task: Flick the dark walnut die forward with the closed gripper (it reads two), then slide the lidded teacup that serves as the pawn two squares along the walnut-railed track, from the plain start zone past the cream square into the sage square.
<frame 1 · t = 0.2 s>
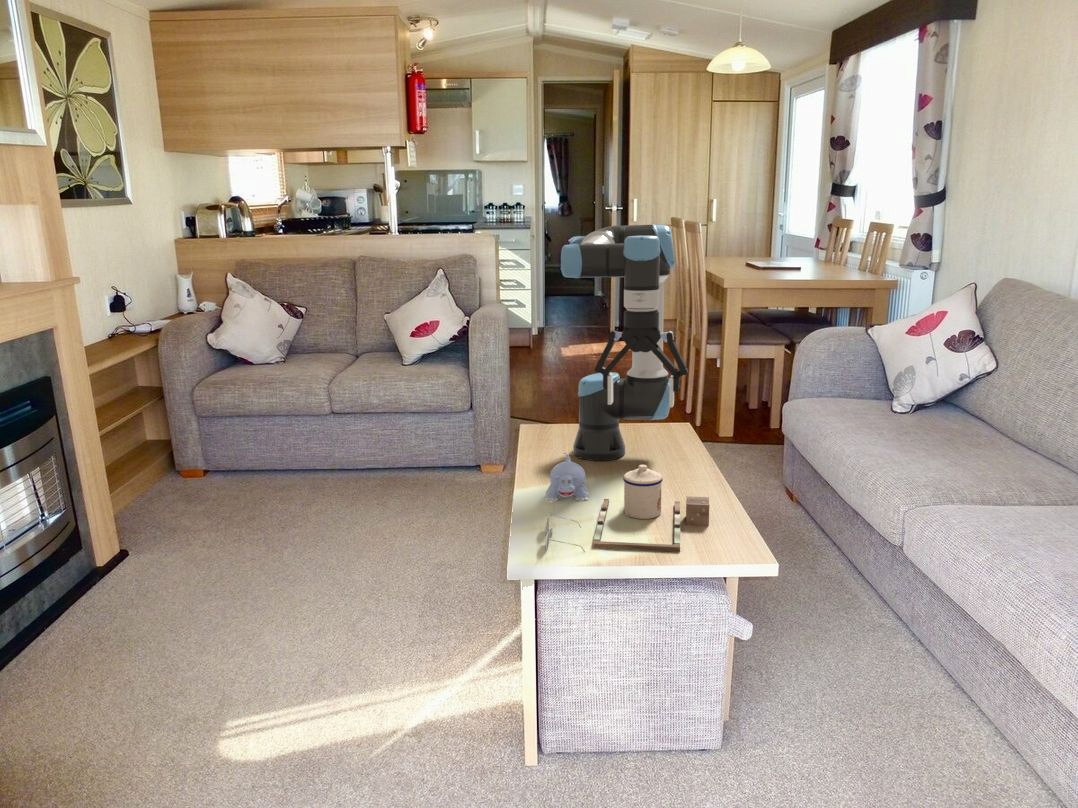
hand: (640, 404, 176), 27 cm above the table, fingers open, 13 cm apart
teacup with lid: (640, 511, 188), on the table
track: (639, 524, 180), on the table
hippopotamus toy: (567, 499, 198), on the table
sunglasses: (564, 542, 173), on the table
die: (697, 521, 181), on the table
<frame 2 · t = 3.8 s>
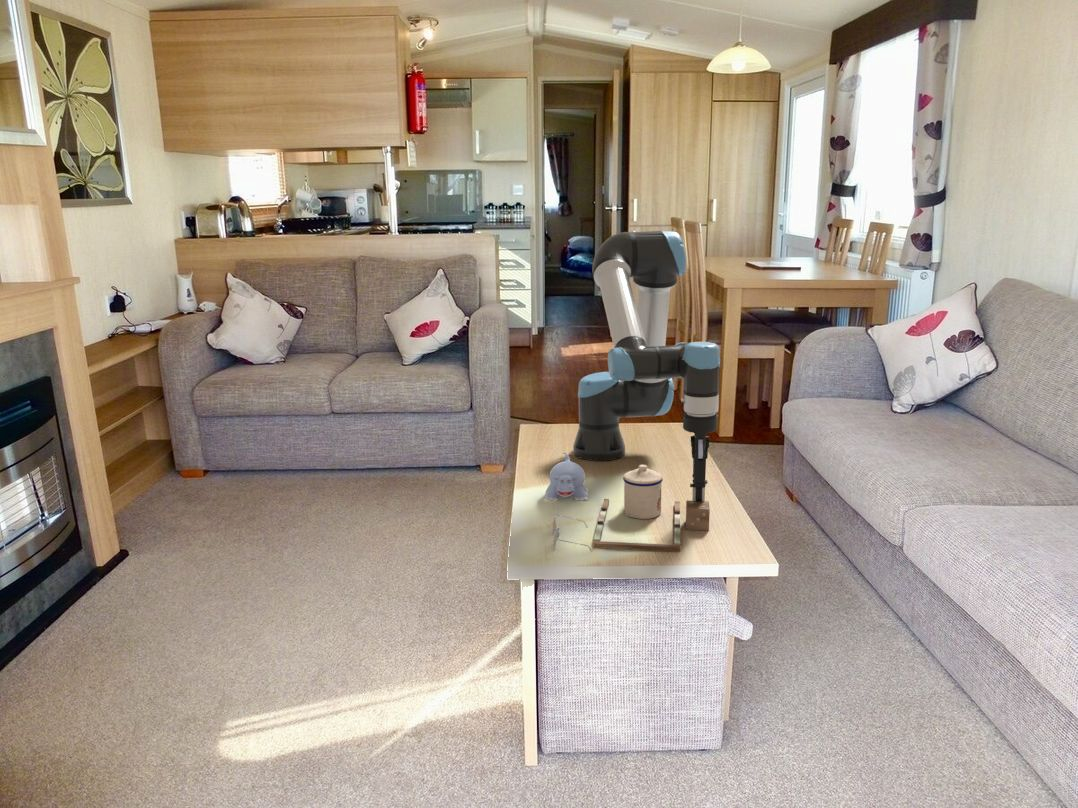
hand: (698, 512, 181), 2 cm above the table, fingers closed
sunglasses: (571, 542, 173), on the table
die: (697, 525, 179), on the table, touching gripper
everything else where it was.
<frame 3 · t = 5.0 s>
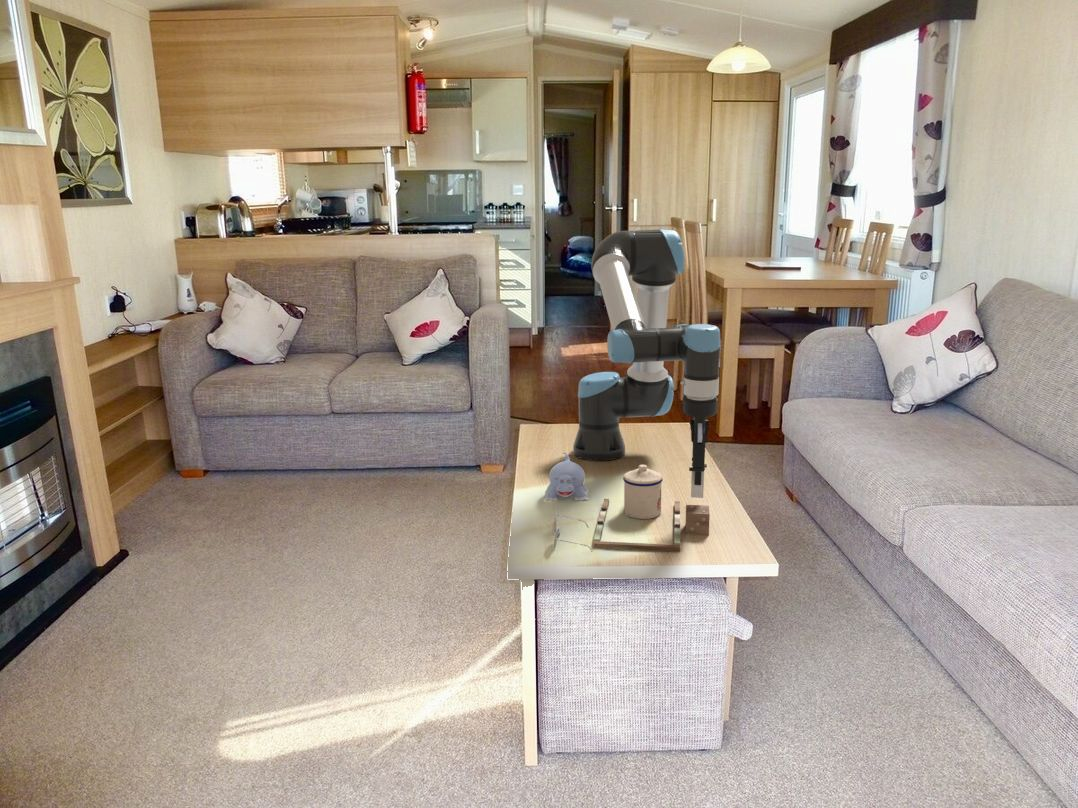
hand: (697, 496, 180), 6 cm above the table, fingers closed
die: (697, 530, 176), on the table
everything else where it was.
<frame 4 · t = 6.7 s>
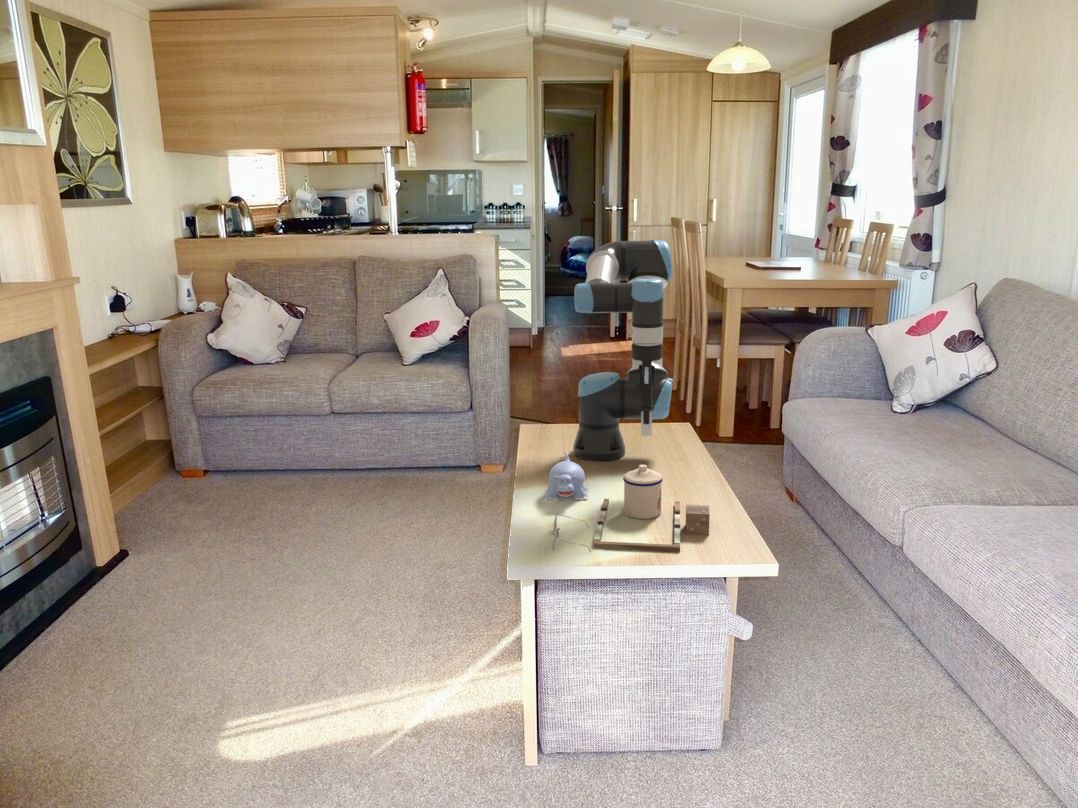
hand: (646, 434, 200), 14 cm above the table, fingers closed
nothing on the table moved.
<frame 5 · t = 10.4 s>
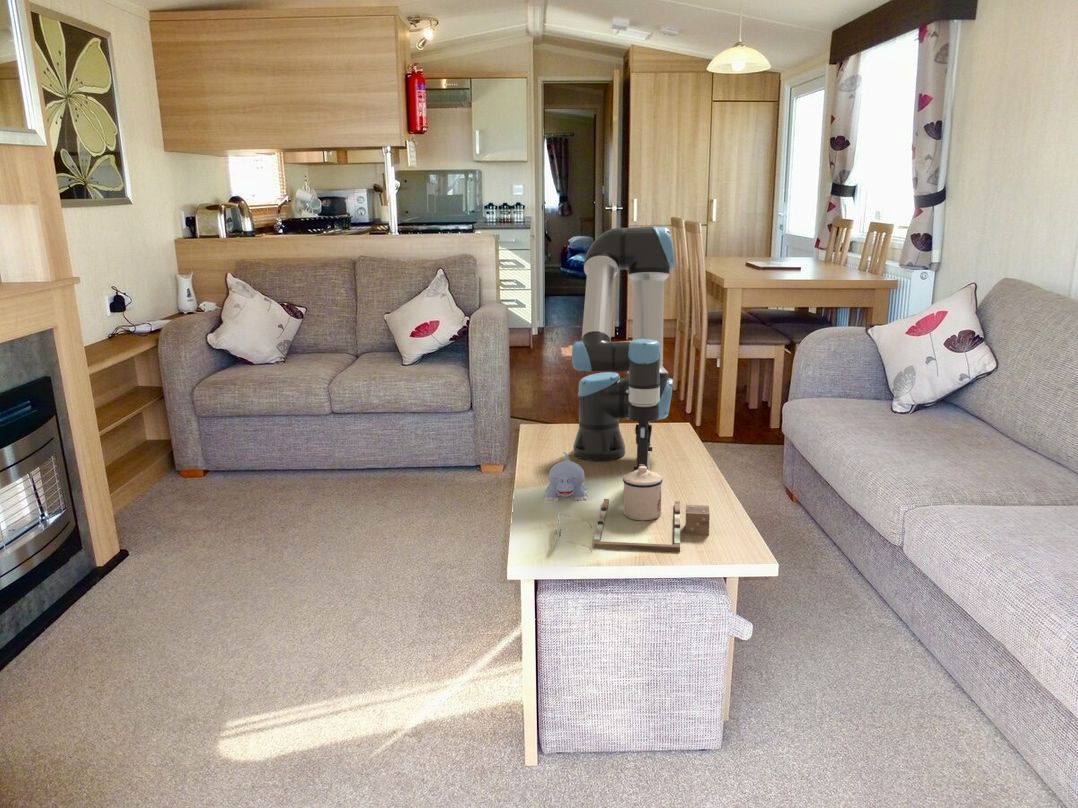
hand: (643, 485, 199), 2 cm above the table, fingers open, 13 cm apart
teacup with lid: (640, 512, 188), on the table, touching gripper, hand
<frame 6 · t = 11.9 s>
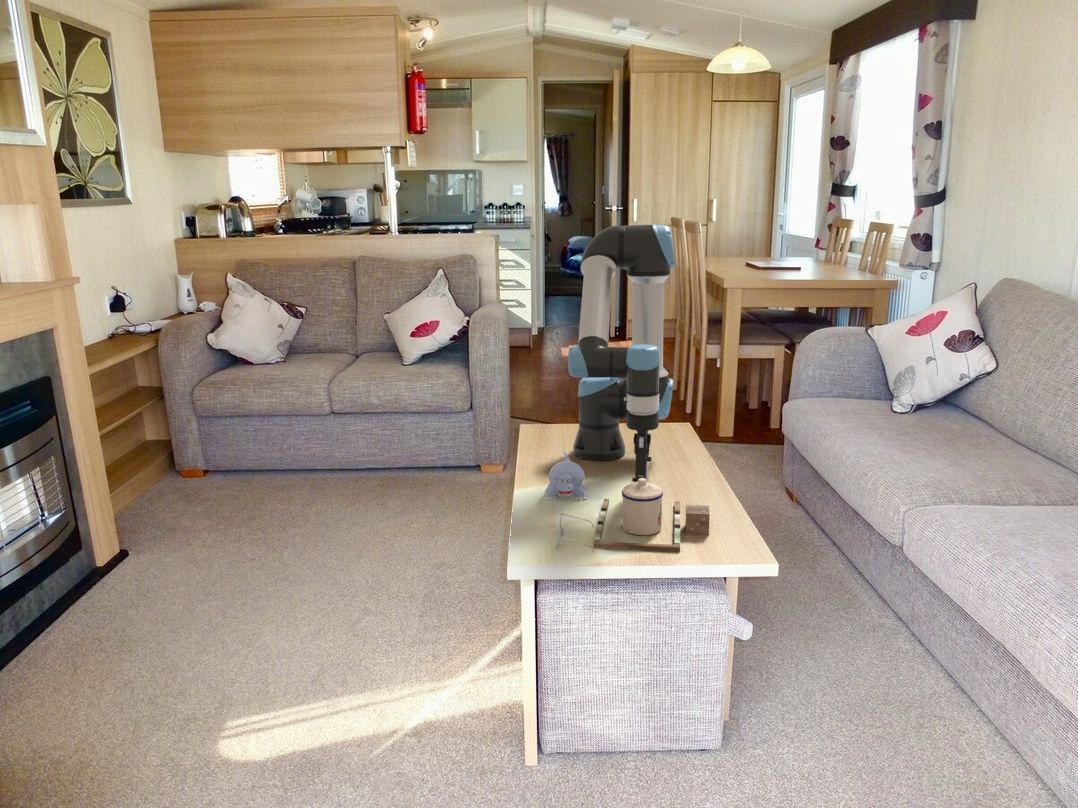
hand: (641, 497, 191), 2 cm above the table, fingers open, 13 cm apart
teacup with lid: (639, 526, 179), on the table, touching gripper, hand
sunglasses: (576, 542, 173), on the table, touching track
everything else where it was.
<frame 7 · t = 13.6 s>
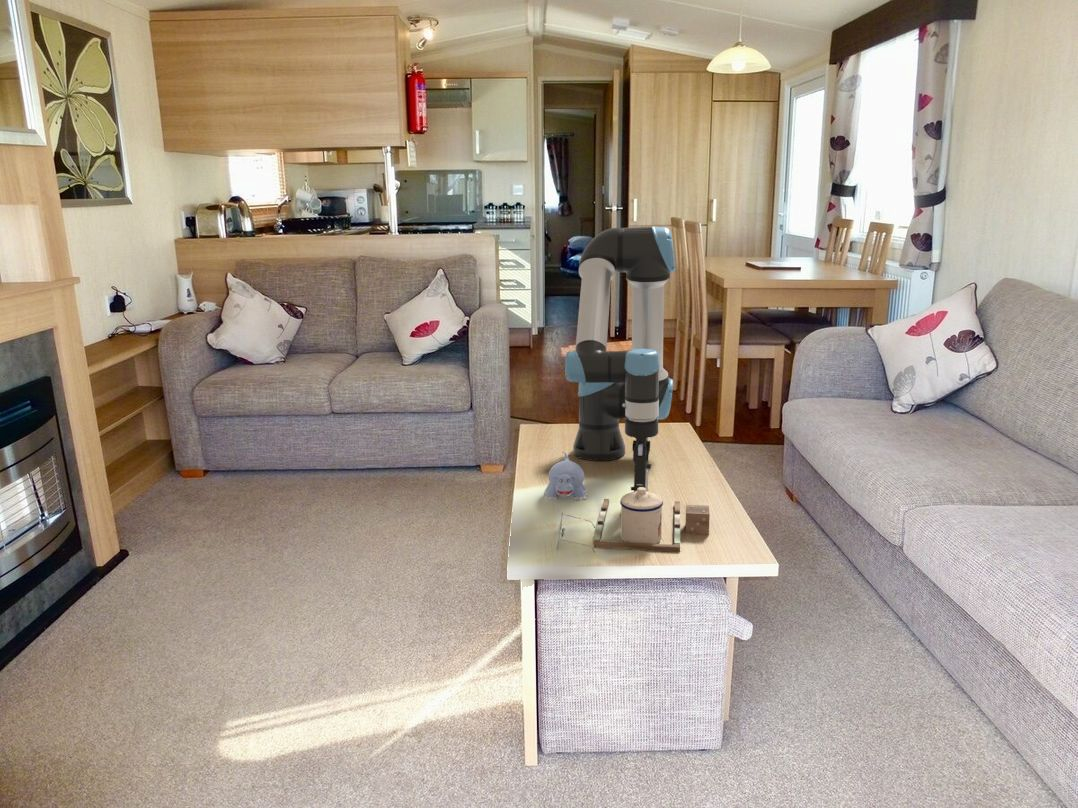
hand: (641, 505, 185), 2 cm above the table, fingers open, 13 cm apart
teacup with lid: (639, 536, 174), on the table, touching gripper, hand
sunglasses: (576, 542, 173), on the table
everything else where it was.
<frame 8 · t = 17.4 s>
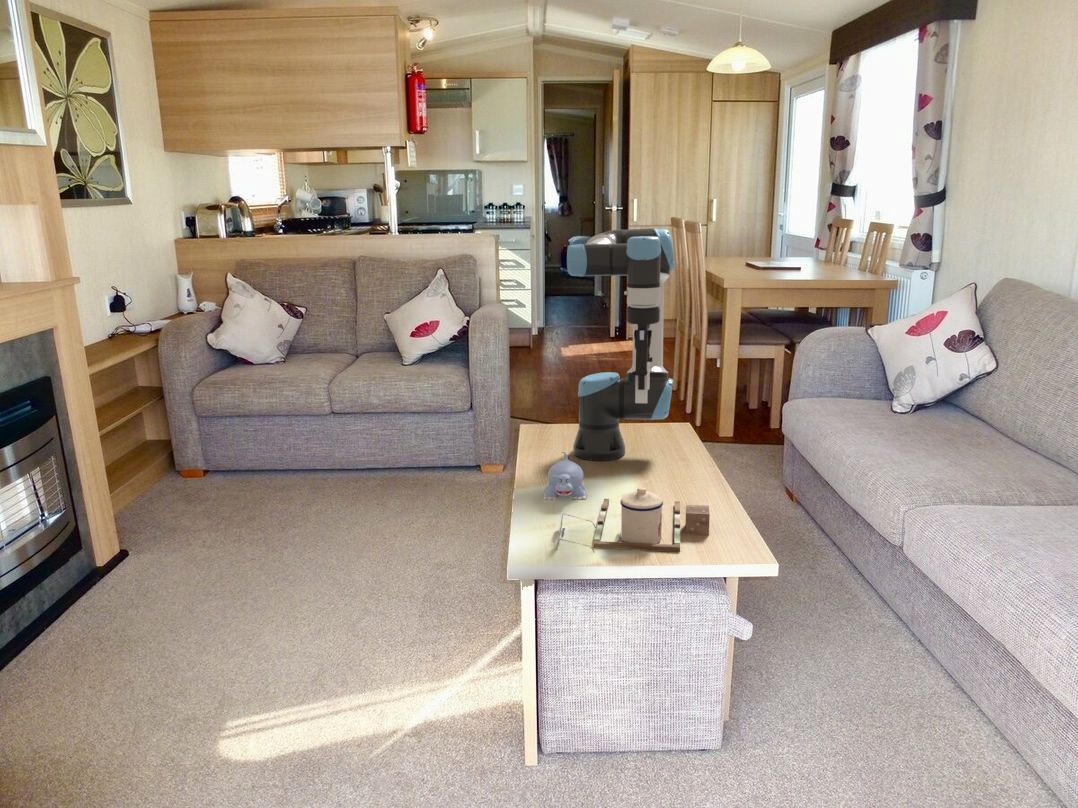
hand: (642, 395, 187), 27 cm above the table, fingers open, 13 cm apart
teacup with lid: (639, 536, 174), on the table
sunglasses: (577, 542, 173), on the table, touching track
everything else where it was.
at the end: teacup with lid inside the target area (1.3 cm from its centre), on the table; teacup with lid tilted 0°; die moved 5.3 cm from its start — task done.
